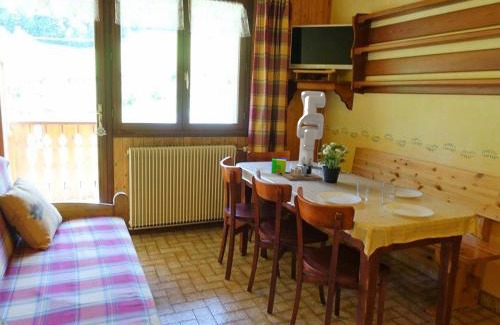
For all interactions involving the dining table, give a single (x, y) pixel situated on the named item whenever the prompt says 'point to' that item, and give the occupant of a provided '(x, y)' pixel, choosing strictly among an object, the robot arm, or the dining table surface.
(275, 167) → the puzzle toy
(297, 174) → the gear board
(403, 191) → the dining table surface
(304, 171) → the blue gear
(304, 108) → the robot arm
